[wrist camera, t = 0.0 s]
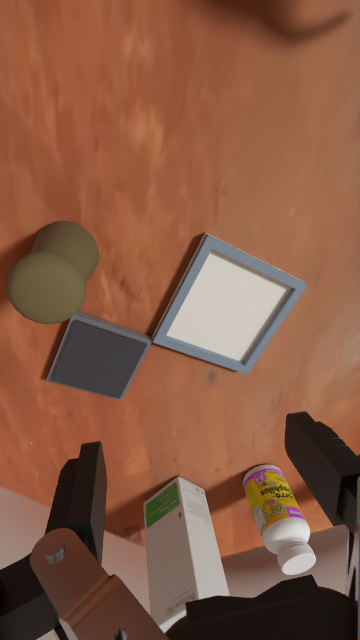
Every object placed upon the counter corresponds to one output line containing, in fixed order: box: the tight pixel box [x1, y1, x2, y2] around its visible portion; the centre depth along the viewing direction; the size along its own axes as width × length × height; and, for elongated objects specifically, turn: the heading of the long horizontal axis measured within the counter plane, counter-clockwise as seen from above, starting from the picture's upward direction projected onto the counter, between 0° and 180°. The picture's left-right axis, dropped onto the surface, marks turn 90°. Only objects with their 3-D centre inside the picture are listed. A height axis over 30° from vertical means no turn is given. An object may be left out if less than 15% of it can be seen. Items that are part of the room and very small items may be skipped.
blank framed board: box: [152, 232, 308, 374], centre depth 36 cm, size 13×13×1 cm
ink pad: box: [46, 311, 152, 400], centre depth 36 cm, size 9×9×2 cm
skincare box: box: [143, 477, 229, 633], centre depth 44 cm, size 8×7×16 cm
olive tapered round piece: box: [7, 221, 99, 324], centre depth 26 cm, size 6×6×11 cm
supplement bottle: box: [243, 464, 316, 575], centre depth 46 cm, size 7×7×13 cm
